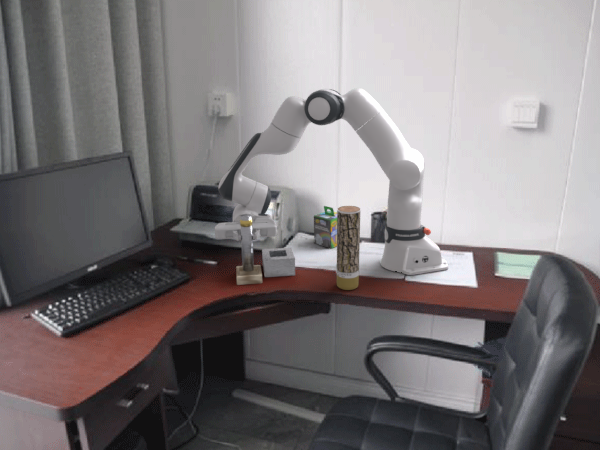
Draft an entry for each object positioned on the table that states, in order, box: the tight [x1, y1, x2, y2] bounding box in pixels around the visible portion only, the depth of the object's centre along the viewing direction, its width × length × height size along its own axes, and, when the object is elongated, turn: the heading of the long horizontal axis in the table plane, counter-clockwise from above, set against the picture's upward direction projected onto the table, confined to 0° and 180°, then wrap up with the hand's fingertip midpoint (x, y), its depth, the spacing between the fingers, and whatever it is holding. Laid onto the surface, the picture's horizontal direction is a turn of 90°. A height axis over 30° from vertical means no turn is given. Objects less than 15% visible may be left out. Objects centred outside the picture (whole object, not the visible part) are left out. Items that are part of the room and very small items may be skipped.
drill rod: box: [240, 214, 255, 272], centre depth 158 cm, size 4×4×18 cm
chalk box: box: [313, 205, 337, 249], centre depth 190 cm, size 9×9×15 cm
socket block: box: [261, 247, 296, 278], centre depth 167 cm, size 10×10×6 cm
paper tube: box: [336, 205, 361, 291], centre depth 152 cm, size 7×7×25 cm
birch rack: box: [235, 264, 263, 286], centre depth 162 cm, size 8×9×3 cm
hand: (247, 238), depth 157 cm, fingers closed on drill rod, 4 cm apart
